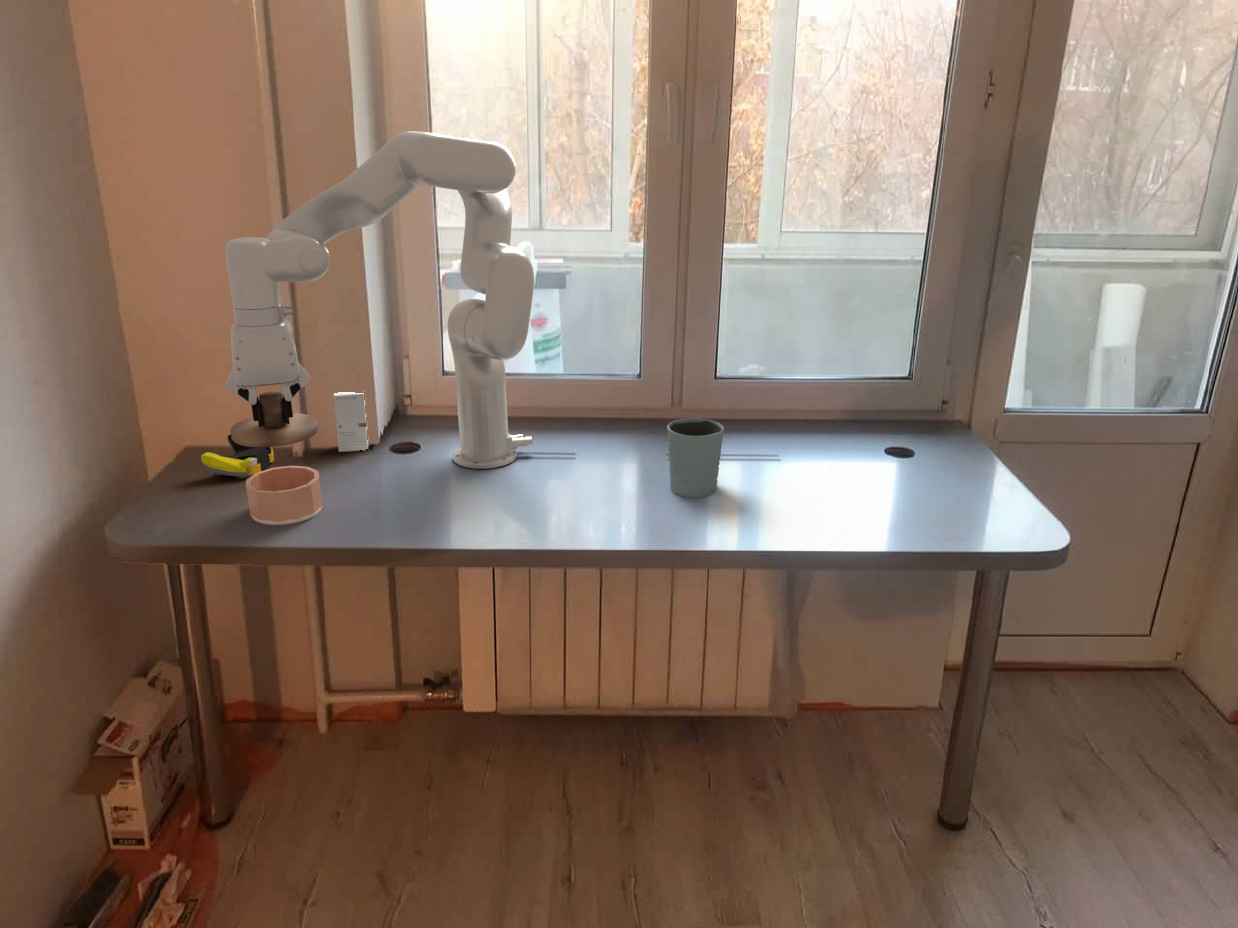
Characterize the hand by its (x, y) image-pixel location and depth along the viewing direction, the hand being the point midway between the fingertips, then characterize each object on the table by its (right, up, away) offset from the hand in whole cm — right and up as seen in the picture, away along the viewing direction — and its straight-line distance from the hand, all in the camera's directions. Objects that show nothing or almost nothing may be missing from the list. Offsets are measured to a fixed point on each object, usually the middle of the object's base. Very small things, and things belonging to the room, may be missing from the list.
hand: (274, 422), depth 163 cm
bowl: (0, -15, +6) cm, 16 cm away
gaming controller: (-15, -8, +25) cm, 30 cm away
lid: (0, -2, +1) cm, 2 cm away
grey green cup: (+72, -12, +15) cm, 74 cm away
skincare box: (+4, -4, +35) cm, 36 cm away
